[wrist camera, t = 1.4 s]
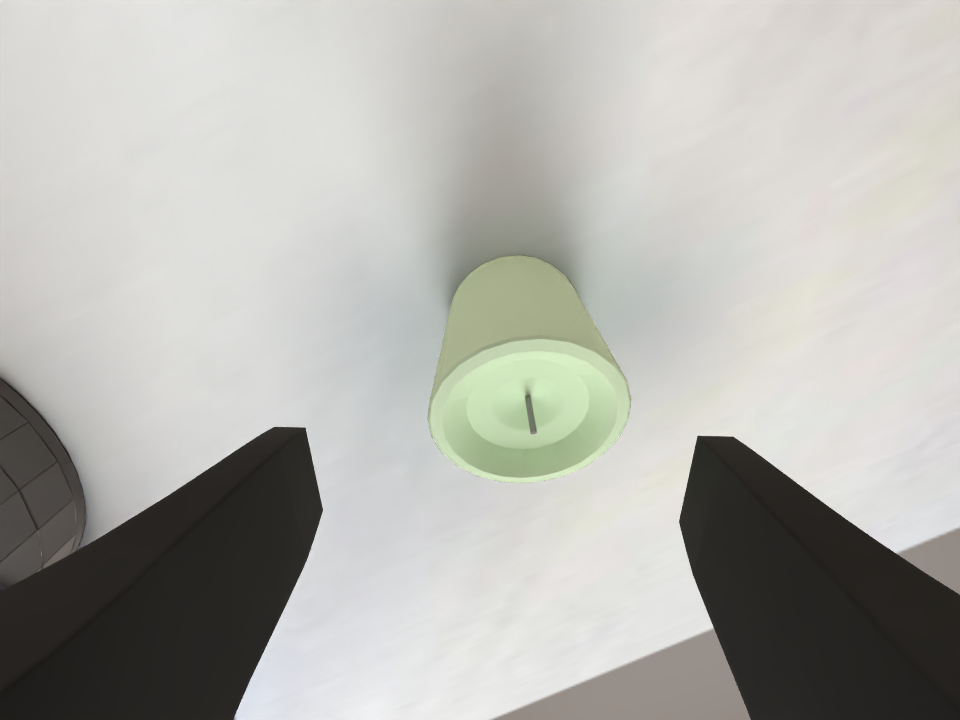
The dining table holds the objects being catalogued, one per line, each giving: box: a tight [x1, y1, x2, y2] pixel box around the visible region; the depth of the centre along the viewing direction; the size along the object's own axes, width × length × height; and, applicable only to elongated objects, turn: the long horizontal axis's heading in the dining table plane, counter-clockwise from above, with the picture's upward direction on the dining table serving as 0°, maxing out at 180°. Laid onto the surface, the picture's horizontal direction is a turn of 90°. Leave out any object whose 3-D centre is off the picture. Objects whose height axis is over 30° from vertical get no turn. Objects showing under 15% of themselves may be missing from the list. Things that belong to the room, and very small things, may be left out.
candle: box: [427, 255, 631, 483], centre depth 15 cm, size 5×5×8 cm
